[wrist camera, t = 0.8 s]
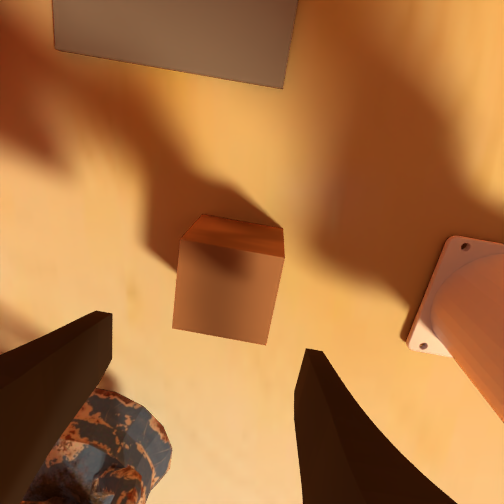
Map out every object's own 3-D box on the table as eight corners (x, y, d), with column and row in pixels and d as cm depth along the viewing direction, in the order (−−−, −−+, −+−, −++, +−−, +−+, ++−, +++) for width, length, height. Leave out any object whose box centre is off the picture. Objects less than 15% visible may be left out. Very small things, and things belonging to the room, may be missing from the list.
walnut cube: (283, 228, 20) (284, 257, 15) (268, 299, 22) (265, 345, 17) (202, 213, 20) (179, 239, 15) (194, 285, 22) (172, 328, 17)
